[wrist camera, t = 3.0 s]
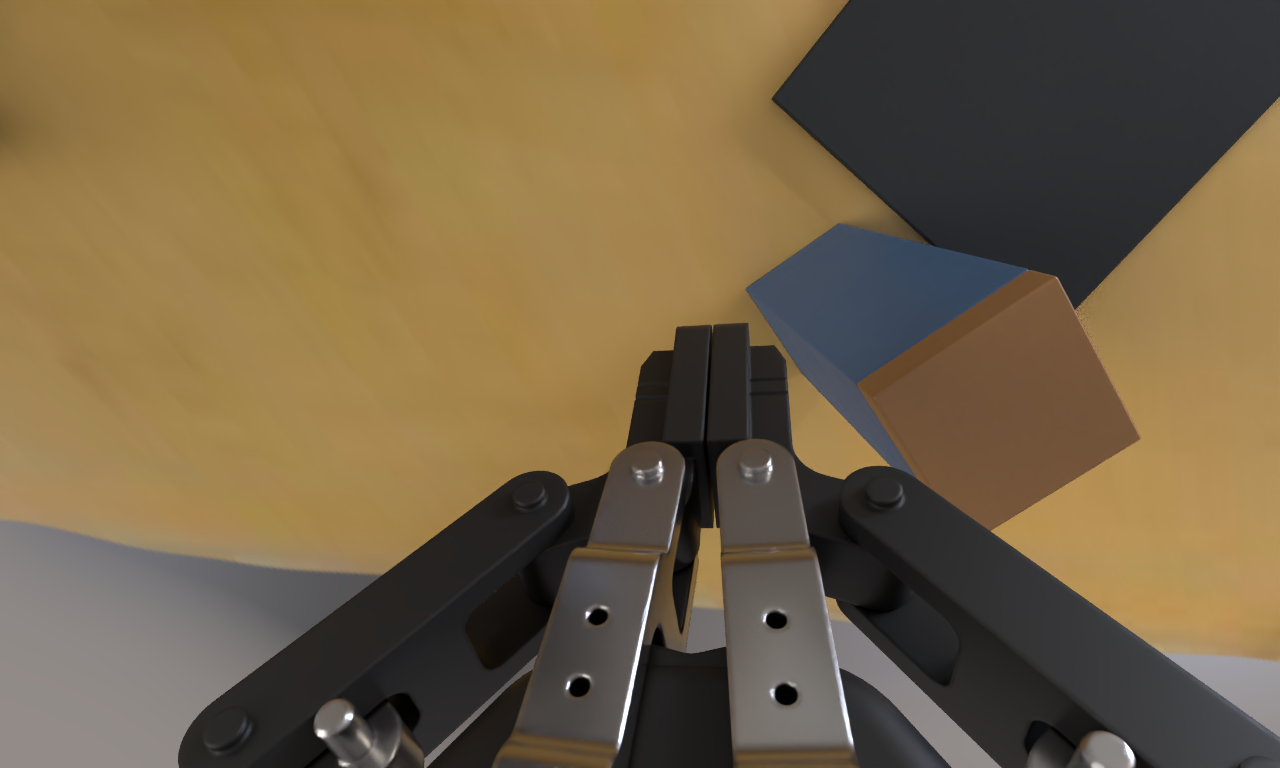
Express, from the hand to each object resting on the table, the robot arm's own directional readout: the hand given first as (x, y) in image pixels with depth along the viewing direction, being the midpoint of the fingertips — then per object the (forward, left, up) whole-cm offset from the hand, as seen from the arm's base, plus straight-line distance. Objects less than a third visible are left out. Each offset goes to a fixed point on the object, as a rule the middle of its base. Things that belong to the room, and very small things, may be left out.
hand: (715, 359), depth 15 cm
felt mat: (+8, +17, -17) cm, 26 cm away
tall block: (+7, +3, -17) cm, 19 cm away
